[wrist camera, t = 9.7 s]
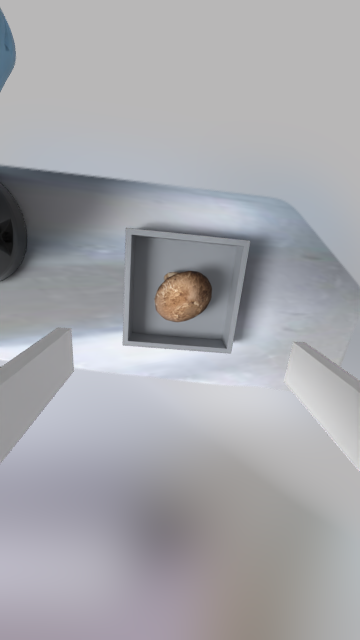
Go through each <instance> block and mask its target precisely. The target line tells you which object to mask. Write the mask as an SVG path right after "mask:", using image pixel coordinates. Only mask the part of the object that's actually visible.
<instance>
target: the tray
mask: <svg viewBox="0 0 360 640" xmlns="http://www.w3.org/2000/svg"><path fill="white" fill-rule="evenodd" d="M249 246H250V241H248V240H239V239H229V238H219V237H210V236H200V235H190V234H181V233H171V232H162V231H152V230H142V229H133V228H126V243H125V278H124V314H123V345H125V346H138V347H151V348H164V349H177V350H190V351H203V352H216V353H229V354H231V351H232V345H233V339H234V333H235V328H236V322H237V316H238V310H239V304H240V299H241V293H242V287H243V281H244V275H245V269H246V264H247V258H248V252H249ZM185 271H197V272H200V273H201V274H203V275H205V276H206V277H207V278H208V280H209V282H210V284H211V286H212V298H211V301H210V302H209V304H208V306H207V308H206V309H205V310H204V311H203V312H202V313H201V314H199V315H198V316H196V317H194V318H192V319H190V320H187V321H183V322H172V321H168V320H165V319H164V318H163V317H162V316H161V315H160V314H159V313H158V312H157V311H156V308H155V300H154V298H155V296H156V293H157V290H158V288H159V286H160V285H161V284H162V283H163V282H164V276H165V275H166V274H167V273H170V272H178V273H180V272H185Z"/></svg>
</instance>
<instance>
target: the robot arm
mask: <svg viewBox="0 0 360 640" xmlns="http://www.w3.org/2000/svg"><path fill="white" fill-rule="evenodd" d="M15 59H16V51H15V43H14V39H13V36H12V33H11V30H10V28H9V25H8V23H7V21H6V19H5V16H4V14H3V12H2V10H1V9H0V92H1V90H2V88H3V86H4V84H5V82H6V80H7V78H8V77H9V75H10V73H11V72H12V69H13V68H14V65H15ZM26 246H27V231H26V225H25V221H24V218H23V215H22V213H21V210H20V208H19V206H18V204H17V203H16V201H15V199H14V198H13V197H12V195H11V194H10V193H9V191H8V190H7V189H6V188H5V187H4V186H3V185H2V184H1V183H0V281H1V280H3V279H5V278H7V277H8V276H10V275H11V274H12V273H13V272H14V271H15V270H16V269H17V268H18V267H19V265H20V264H21V262H22V260H23V258H24V255H25V251H26ZM73 372H74V366H73V350H72V334H71V328H56V329H55V330H53V331H52V332H51V333H49V334H48V335H46V336H45V337H43V338H42V339H41V340H39V341H38V342H36V343H35V344H33V345H32V346H30V347H29V348H28V349H26V350H25V351H23V352H22V353H20V354H19V355H18V356H16V357H15V358H13V359H12V360H10V361H9V362H8V363H6V364H5V365H4V366H2V367H0V464H1V462H2V461H3V460H4V459H5V457H6V456H7V455H8V454H9V452H10V451H11V450H12V448H13V447H14V446H15V445H16V443H17V442H18V441H19V440H20V439H21V437H22V436H23V435H24V434H25V432H26V431H27V430H28V429H29V427H30V426H31V425H32V423H33V422H34V421H35V420H36V418H37V417H38V416H39V415H40V413H41V412H42V411H43V410H44V408H45V407H46V406H47V404H48V403H49V402H50V401H51V399H52V398H53V397H54V396H55V394H56V393H57V392H58V391H59V389H60V388H61V387H62V386H63V384H64V383H65V382H66V380H67V379H68V378H69V377H70V375H71V374H72V373H73ZM284 383H285V384H286V385H287V386H288V387H289V389H290V390H291V391H292V392H293V393H294V394H295V396H296V397H297V398H298V399H299V400H300V402H301V403H302V404H303V405H304V406H305V407H306V409H307V410H308V411H309V412H310V414H311V415H312V416H313V417H314V418H315V419H316V421H317V422H318V423H319V424H320V425H321V427H322V428H323V429H324V430H325V431H326V433H327V434H328V435H329V436H330V437H331V438H332V440H333V441H334V442H335V443H336V444H337V445H338V447H339V448H340V449H341V450H342V452H343V453H344V454H345V455H346V456H347V457H348V459H349V460H350V461H351V462H352V463H353V465H354V466H355V467H356V468H357V469H358V471H359V472H360V381H359V380H358V379H357V378H355V377H354V376H352V375H351V374H349V373H348V372H347V371H345V370H344V369H342V368H341V367H339V366H338V365H337V364H335V363H334V362H332V361H331V360H330V359H328V358H327V357H325V356H324V355H322V354H321V353H320V352H318V351H317V350H315V349H314V348H312V347H311V346H310V345H308V344H307V343H305V342H293V345H292V349H291V353H290V357H289V362H288V366H287V370H286V374H285V379H284Z"/></svg>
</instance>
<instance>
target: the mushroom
mask: <svg viewBox="0 0 360 640" xmlns="http://www.w3.org/2000/svg"><path fill="white" fill-rule="evenodd" d="M211 298H212V286H211V284H210V282H209V280H208V278H207V277H206V276H205V275H203V274H201V273H200V272H197V271H185V272H180V273H178V272H170V273H167V274H166V275H165V276H164V282H163V283H162V284H161V285H160V286H159V288H158V290H157V293H156V296H155V298H154V300H155V308H156V311H157V312H158V313H159V314H160V315H161V316H162V317H163V318H164V319H165V320H168V321H172V322H183V321H187V320H190V319H192V318H194V317H196V316H198V315H199V314H201V313H202V312H203V311H204V310H205V309H206V308H207V306H208V304H209V302H210V301H211Z"/></svg>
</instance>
